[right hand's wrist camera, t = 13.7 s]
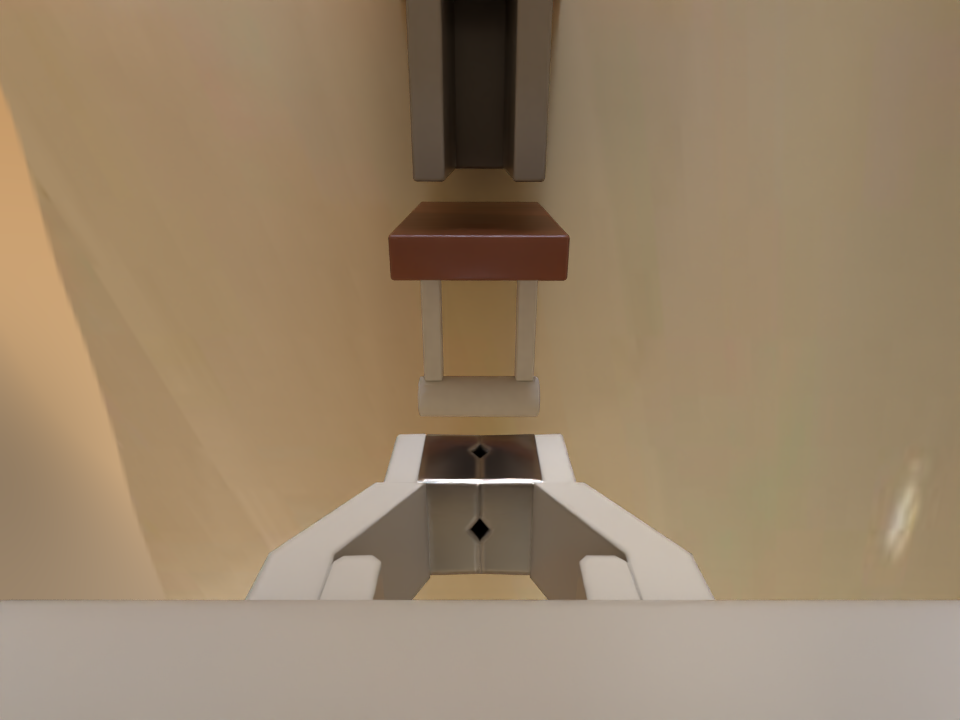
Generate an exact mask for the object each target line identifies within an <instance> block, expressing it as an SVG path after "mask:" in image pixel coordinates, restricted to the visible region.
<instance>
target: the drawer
mask: <svg viewBox="0 0 960 720" xmlns="http://www.w3.org/2000/svg"><path fill="white" fill-rule="evenodd" d="M552 8H553V0H406V16H407V40H408V64H409V88H410V112H411V137H412V161H413V178H414V180H415V181H444V180H445V179H446V178H447V177H448V176H449V175H450V174H451V172H452V171H453V170H454V169H505V170H506V172H507V173H508V174H509V175H510V176H511V177H512V179H513V180H514V181H516V182H542V181H544V179H545V167H546V145H547V122H548V99H549V77H550V54H551V31H552ZM388 240H389V257H390V273H391V279H392V280H421V305H422V330H423V356H424V376H421V377H420V379H419V385H418V410H419V414H420V416H461V417H536V416H538V414H539V410H540V385H539V379H538V377H536V376H534V359H535V335H536V311H537V287H538V281H564V280H566V279H567V273H568V257H569V241H570V238H569V235H568V234H567V233H566V232H565V231H564V230H563V229H562V228H561V227H560V226H559V225H558V223H557V222H556V221H555V220H554V219H553V218H552V217H551V216H550V215H549V214H548V213H547V212H546V211H545V209H544V208H543V207H542V206H541V205H540V204H539V203H538V202H421V203H420V204H419V205H418V206H417V207H416V208H415V209H414V210H413V211H412V212H411V213H410V214H409V215H408V216H407V217H406V219H405V220H404V221H403V222H402V223H401V224H400V225H399V226H398V227H397V228H396V229H395V230H394V231H393V232H392V233H391V234H390V235H389V237H388ZM441 280H505V281H517V307H516V343H515V376H443V333H442V293H441Z"/></svg>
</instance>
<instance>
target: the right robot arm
mask: <svg viewBox="0 0 960 720" xmlns="http://www.w3.org/2000/svg"><path fill="white" fill-rule="evenodd" d="M449 574H510V575H530V578H531V579H532V580H533V582H534V583H535V584H536V585H537V586H538V588H539V589H540V590H541V591H542V593H543V594H544V595H545V596H546V597H547V599H548V600H412V599H413V598H414V597H415V595H416V594H417V593H418V592H419V591H420V589H421V588H422V587H423V586H424V585H425V583H426V582H427V581H428V580H429V578H430V575H449ZM0 720H960V600H715V598H714V596H713V595H712V593H711V591H710V589H709V587H708V585H707V583H706V581H705V579H704V577H703V575H702V573H701V571H700V569H699V567H698V565H697V563H696V561H695V559H694V557H693V556H692V554H691V553H690V552H688V551H687V550H685V549H684V548H682V547H681V546H679V545H678V544H676V543H675V542H673V541H672V540H670V539H668V538H667V537H665V536H664V535H662V534H661V533H659V532H658V531H656V530H655V529H653V528H652V527H650V526H649V525H647V524H646V523H644V522H643V521H641V520H640V519H638V518H637V517H635V516H634V515H632V514H631V513H629V512H628V511H626V510H625V509H623V508H622V507H620V506H619V505H617V504H616V503H614V502H613V501H611V500H610V499H608V498H607V497H605V496H604V495H602V494H601V493H599V492H598V491H596V490H595V489H593V488H592V487H590V486H589V485H587V484H586V483H584V482H576V479H575V476H574V472H573V469H572V466H571V462H570V459H569V455H568V452H567V448H566V445H565V441H564V438H563V435H561V434H539V435H534V434H523V435H481V436H480V435H439V434H427V435H425V434H399V435H398V436H397V437H396V441H395V444H394V448H393V451H392V455H391V458H390V462H389V465H388V469H387V472H386V476H385V479H384V482H376V483H374V484H373V485H371V486H370V487H368V488H367V489H365V490H364V491H362V492H361V493H359V494H358V495H356V496H355V497H353V498H352V499H350V500H349V501H347V502H346V503H344V504H343V505H341V506H340V507H338V508H336V509H335V510H333V511H332V512H330V513H329V514H327V515H326V516H324V517H323V518H321V519H320V520H318V521H317V522H315V523H314V524H312V525H311V526H309V527H308V528H306V529H305V530H303V531H302V532H300V533H299V534H297V535H296V536H294V537H293V538H291V539H290V540H288V541H287V542H285V543H284V544H282V545H281V546H279V547H278V548H276V549H275V550H273V551H271V552H270V553H269V554H268V556H267V558H266V560H265V562H264V564H263V566H262V568H261V570H260V572H259V573H258V575H257V577H256V579H255V581H254V583H253V585H252V587H251V589H250V591H249V593H248V595H247V597H246V598H245V600H0Z"/></svg>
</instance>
